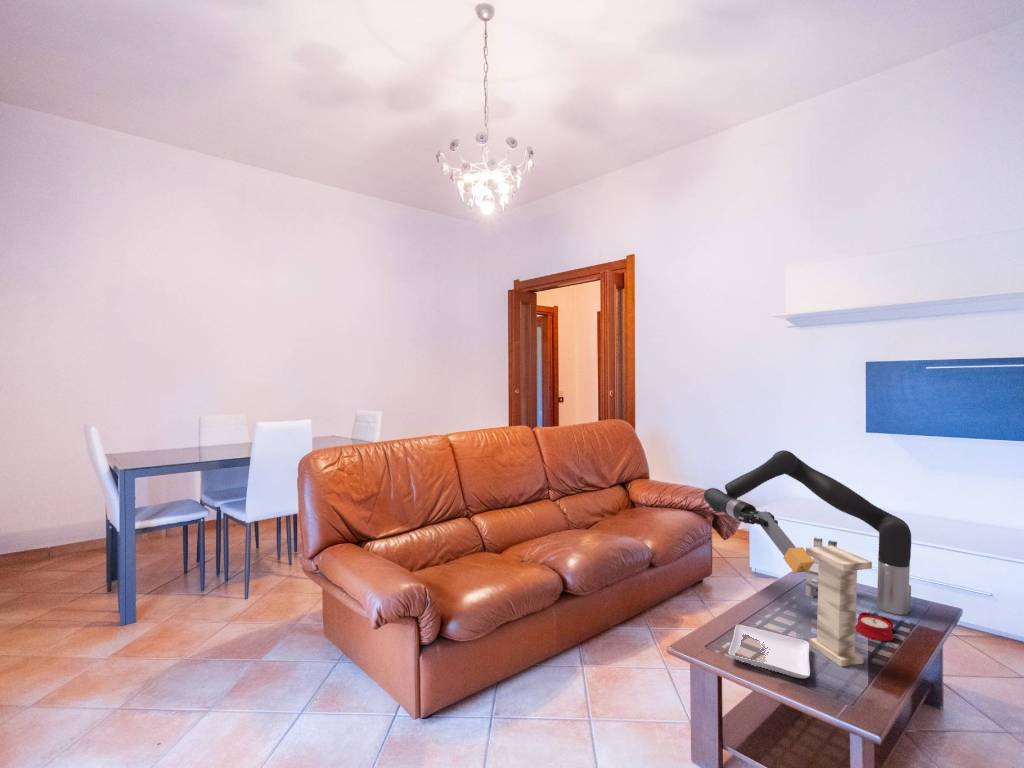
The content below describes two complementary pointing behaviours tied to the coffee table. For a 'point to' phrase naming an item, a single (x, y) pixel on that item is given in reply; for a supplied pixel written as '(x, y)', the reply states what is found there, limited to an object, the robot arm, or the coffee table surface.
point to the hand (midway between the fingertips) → (772, 524)
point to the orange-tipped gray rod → (786, 546)
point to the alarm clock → (875, 627)
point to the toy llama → (815, 570)
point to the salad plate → (775, 651)
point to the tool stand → (837, 603)
